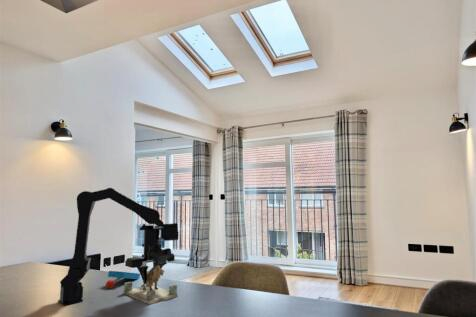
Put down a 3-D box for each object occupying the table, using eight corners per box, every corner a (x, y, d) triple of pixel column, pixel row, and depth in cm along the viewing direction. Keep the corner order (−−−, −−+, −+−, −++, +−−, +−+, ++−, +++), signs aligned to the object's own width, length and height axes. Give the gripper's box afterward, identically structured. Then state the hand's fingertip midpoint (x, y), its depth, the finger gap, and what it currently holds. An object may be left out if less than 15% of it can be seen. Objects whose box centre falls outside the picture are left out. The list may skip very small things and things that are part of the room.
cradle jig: (149, 304, 112) (149, 292, 113) (123, 293, 125) (123, 282, 126) (177, 296, 121) (177, 285, 122) (150, 286, 134) (150, 277, 135)
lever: (124, 288, 148) (99, 288, 132) (127, 272, 151) (103, 270, 135) (137, 290, 146) (114, 289, 130) (140, 273, 149) (117, 271, 133)
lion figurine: (167, 289, 121) (165, 264, 122) (154, 292, 117) (153, 266, 118) (146, 286, 130) (145, 263, 132) (134, 289, 127) (133, 266, 128)
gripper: (140, 246, 113) (139, 291, 112) (183, 240, 127) (182, 281, 125) (125, 243, 121) (123, 285, 119) (167, 238, 134) (166, 276, 133)
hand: (150, 282), depth 124 cm, fingers closed on lion figurine, 4 cm apart
